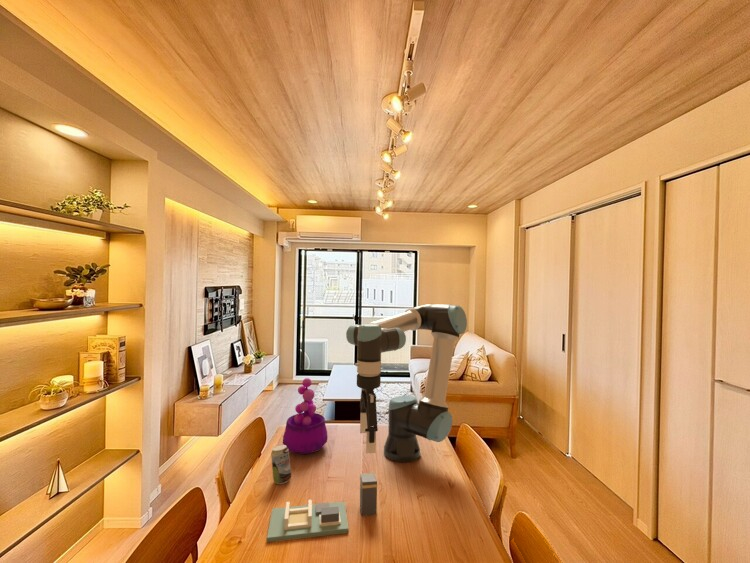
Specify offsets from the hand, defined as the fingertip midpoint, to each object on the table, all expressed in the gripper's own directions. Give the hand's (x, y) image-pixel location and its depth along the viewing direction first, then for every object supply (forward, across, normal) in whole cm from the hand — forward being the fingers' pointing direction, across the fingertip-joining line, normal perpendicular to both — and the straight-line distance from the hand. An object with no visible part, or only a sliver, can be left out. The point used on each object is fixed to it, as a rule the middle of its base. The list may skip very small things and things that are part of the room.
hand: (367, 442), depth 103 cm
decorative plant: (+21, -42, -20) cm, 51 cm away
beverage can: (+21, -19, -28) cm, 40 cm away
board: (+21, +3, -17) cm, 27 cm away
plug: (+21, 0, +1) cm, 21 cm away
